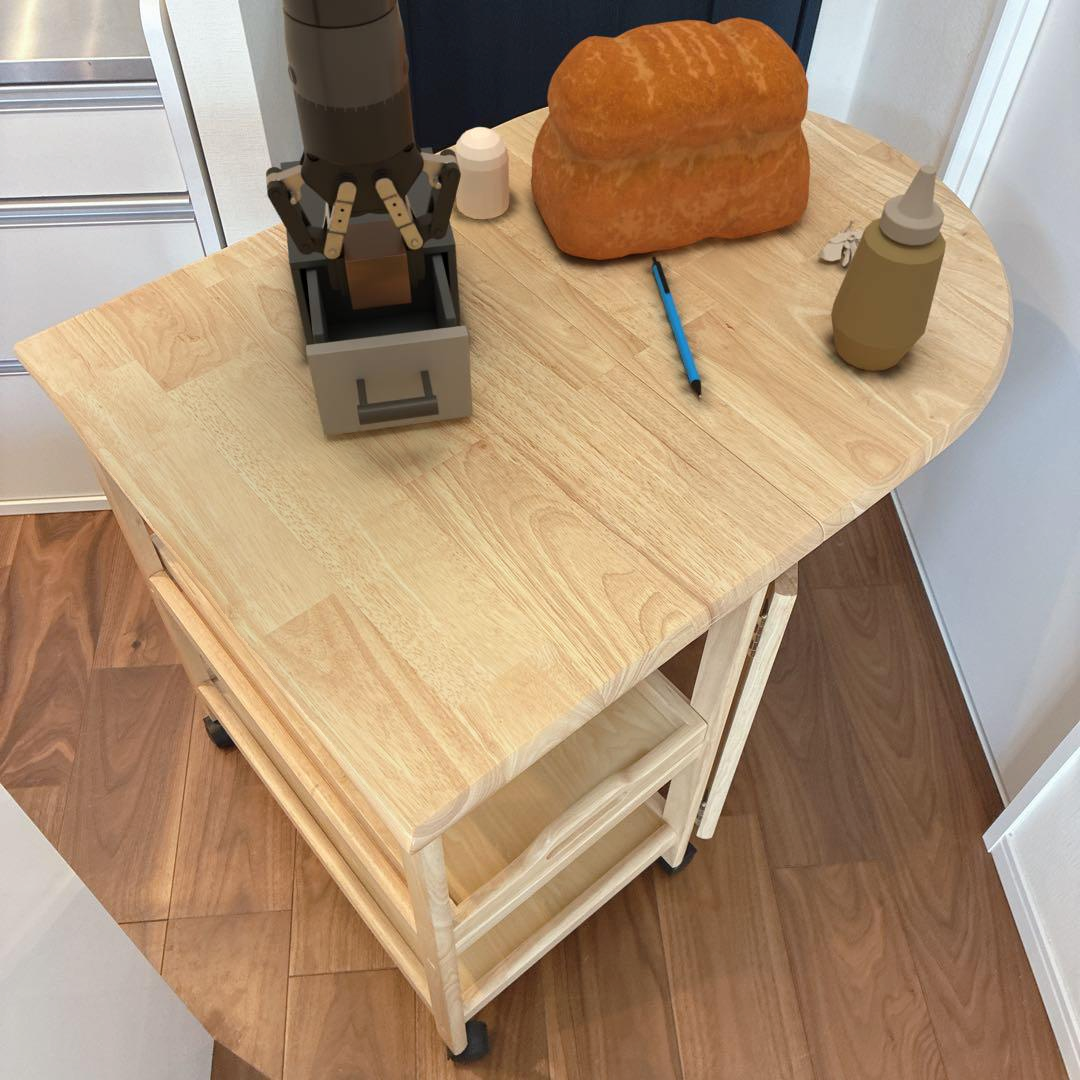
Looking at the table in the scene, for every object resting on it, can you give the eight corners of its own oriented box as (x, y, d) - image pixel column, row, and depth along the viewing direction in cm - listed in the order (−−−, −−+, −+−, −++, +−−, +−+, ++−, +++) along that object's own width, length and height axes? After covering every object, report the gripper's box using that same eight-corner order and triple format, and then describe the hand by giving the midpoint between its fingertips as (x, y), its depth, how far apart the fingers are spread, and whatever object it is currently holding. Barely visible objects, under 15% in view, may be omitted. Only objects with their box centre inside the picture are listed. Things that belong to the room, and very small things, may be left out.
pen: (657, 261, 101) (659, 251, 100) (704, 400, 90) (706, 390, 89) (648, 262, 101) (649, 252, 100) (694, 401, 90) (696, 391, 89)
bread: (816, 232, 105) (860, 63, 91) (564, 276, 100) (570, 104, 86) (753, 147, 114) (784, -19, 100) (519, 183, 109) (519, 15, 96)
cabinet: (461, 341, 94) (455, 244, 86) (310, 360, 92) (289, 262, 84) (439, 244, 103) (431, 146, 95) (300, 259, 101) (280, 162, 93)
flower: (909, 288, 101) (920, 268, 99) (831, 299, 100) (839, 279, 97) (881, 230, 104) (890, 209, 102) (805, 240, 103) (812, 219, 101)
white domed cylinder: (520, 202, 107) (519, 130, 101) (483, 226, 105) (480, 153, 98) (482, 182, 109) (479, 109, 103) (445, 204, 107) (440, 131, 100)
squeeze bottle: (924, 338, 95) (994, 157, 81) (899, 393, 91) (968, 212, 76) (838, 309, 97) (891, 129, 83) (809, 362, 93) (860, 181, 79)
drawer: (481, 454, 85) (477, 373, 78) (328, 475, 83) (310, 395, 76) (449, 312, 95) (443, 230, 88) (312, 328, 94) (296, 246, 87)
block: (352, 310, 80) (344, 261, 77) (347, 273, 83) (339, 224, 79) (411, 303, 81) (406, 254, 77) (404, 266, 84) (399, 218, 80)
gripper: (450, 34, 71) (462, 245, 85) (235, 53, 70) (282, 266, 83) (468, 91, 67) (477, 305, 80) (238, 113, 65) (287, 328, 78)
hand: (378, 284), depth 82 cm, fingers closed on block, 4 cm apart
